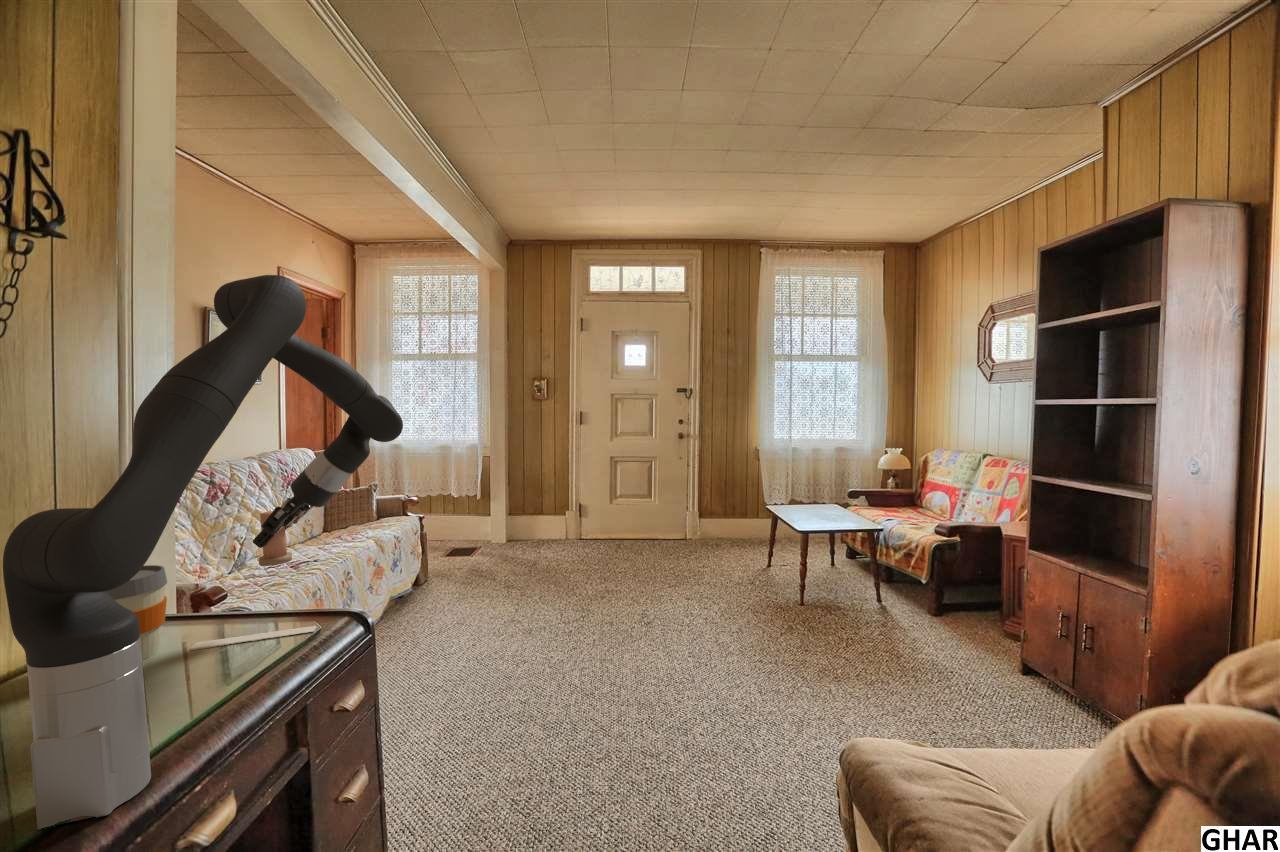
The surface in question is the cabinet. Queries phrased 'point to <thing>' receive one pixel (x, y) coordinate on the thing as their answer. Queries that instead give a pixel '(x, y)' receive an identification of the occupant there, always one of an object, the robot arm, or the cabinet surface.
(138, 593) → the reusable coffee cup
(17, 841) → the cabinet surface
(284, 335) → the robot arm
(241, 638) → the strip
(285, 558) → the pin
